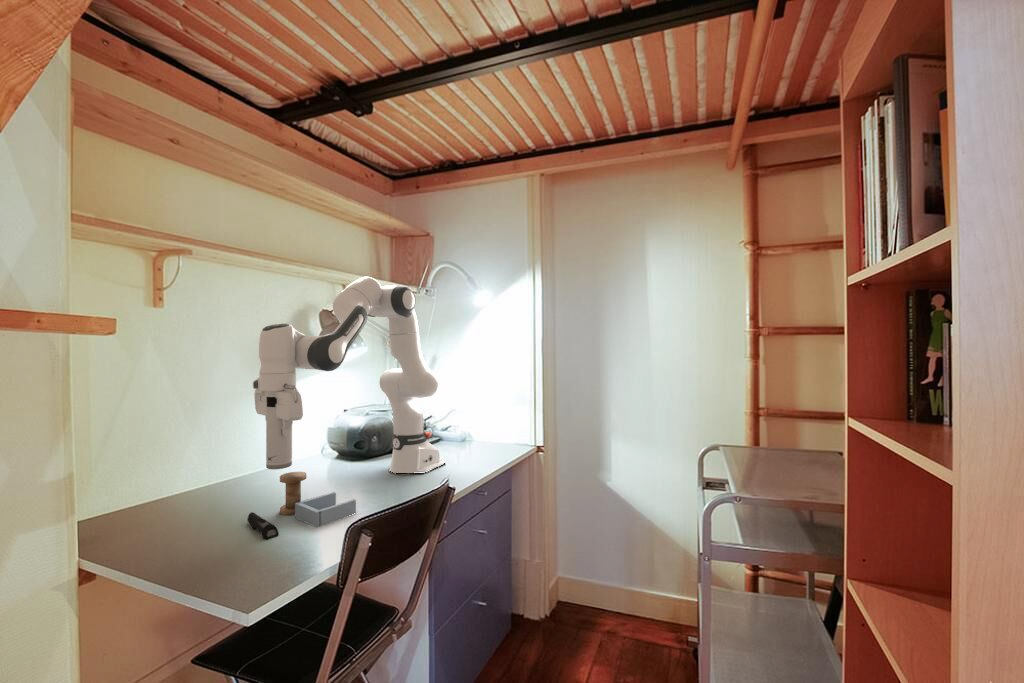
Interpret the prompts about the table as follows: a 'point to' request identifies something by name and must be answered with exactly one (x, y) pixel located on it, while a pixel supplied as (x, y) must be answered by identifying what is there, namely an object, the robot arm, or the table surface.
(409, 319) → the robot arm
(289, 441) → the travel mug
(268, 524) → the electric trimmer
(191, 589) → the table surface
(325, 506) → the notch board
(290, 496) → the bobbin
